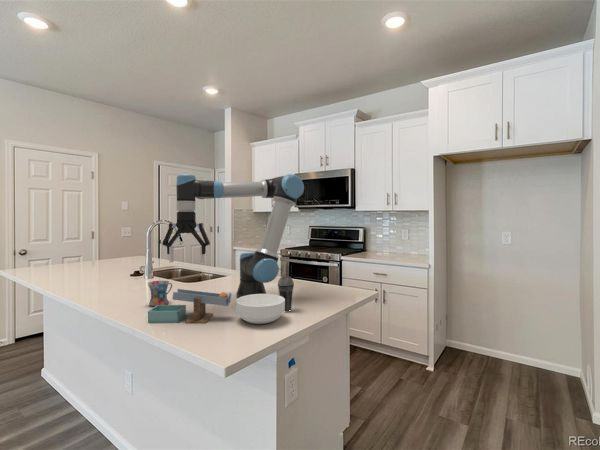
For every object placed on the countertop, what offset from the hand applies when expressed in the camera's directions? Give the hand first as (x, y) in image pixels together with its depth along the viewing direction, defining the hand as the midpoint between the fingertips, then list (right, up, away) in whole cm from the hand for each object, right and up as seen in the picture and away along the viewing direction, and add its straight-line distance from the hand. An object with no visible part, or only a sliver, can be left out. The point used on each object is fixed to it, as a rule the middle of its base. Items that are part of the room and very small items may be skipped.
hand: (186, 262), depth 140 cm
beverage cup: (+42, -23, +7) cm, 48 cm away
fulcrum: (+7, -23, -6) cm, 24 cm away
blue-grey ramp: (+8, -15, -2) cm, 17 cm away
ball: (+17, -13, -6) cm, 22 cm away
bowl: (+32, -23, -7) cm, 40 cm away
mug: (-17, -22, +16) cm, 32 cm away
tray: (-6, -23, -6) cm, 24 cm away
